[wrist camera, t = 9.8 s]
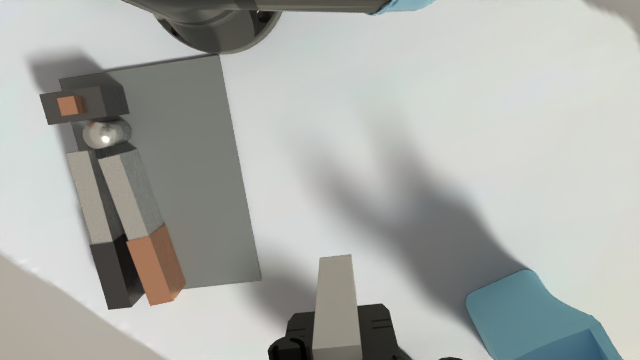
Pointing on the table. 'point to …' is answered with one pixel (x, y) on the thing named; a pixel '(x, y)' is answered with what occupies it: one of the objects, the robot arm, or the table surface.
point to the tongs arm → (138, 213)
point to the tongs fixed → (98, 190)
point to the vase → (534, 323)
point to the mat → (187, 163)
